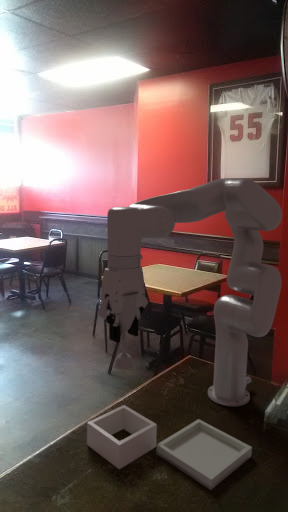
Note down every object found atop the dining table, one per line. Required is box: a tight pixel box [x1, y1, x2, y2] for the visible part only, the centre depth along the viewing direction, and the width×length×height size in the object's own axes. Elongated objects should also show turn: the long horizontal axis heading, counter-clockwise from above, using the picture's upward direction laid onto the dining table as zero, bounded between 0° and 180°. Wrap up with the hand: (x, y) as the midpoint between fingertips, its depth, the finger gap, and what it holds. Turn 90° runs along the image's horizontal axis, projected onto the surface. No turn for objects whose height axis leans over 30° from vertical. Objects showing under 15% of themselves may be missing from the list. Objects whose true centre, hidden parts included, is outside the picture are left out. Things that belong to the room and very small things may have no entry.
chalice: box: [112, 293, 138, 371], centre depth 95 cm, size 7×7×18 cm
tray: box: [155, 418, 253, 491], centre depth 97 cm, size 16×16×2 cm
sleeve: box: [86, 404, 158, 470], centre depth 100 cm, size 12×12×6 cm
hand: (124, 337), depth 96 cm, fingers closed on chalice, 4 cm apart
